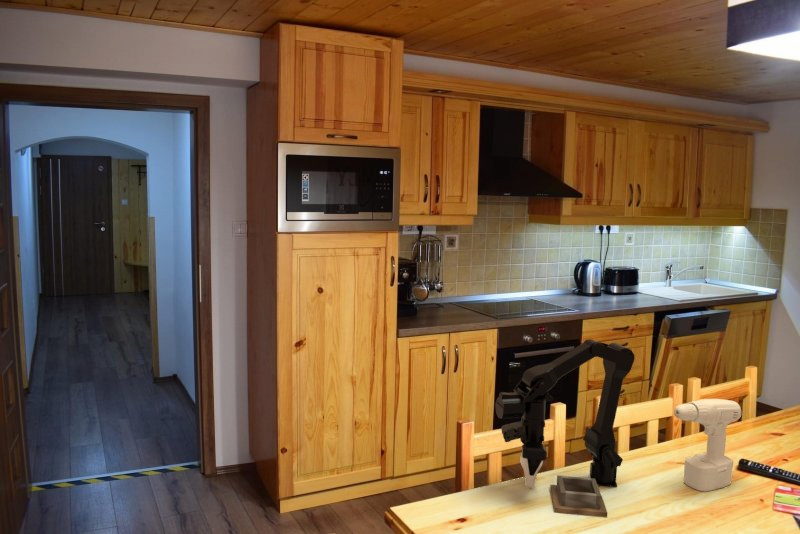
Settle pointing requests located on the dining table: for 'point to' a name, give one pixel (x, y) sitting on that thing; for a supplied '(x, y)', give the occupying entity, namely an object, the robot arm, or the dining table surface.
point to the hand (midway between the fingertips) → (530, 470)
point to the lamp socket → (577, 496)
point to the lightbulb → (528, 478)
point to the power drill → (709, 442)
